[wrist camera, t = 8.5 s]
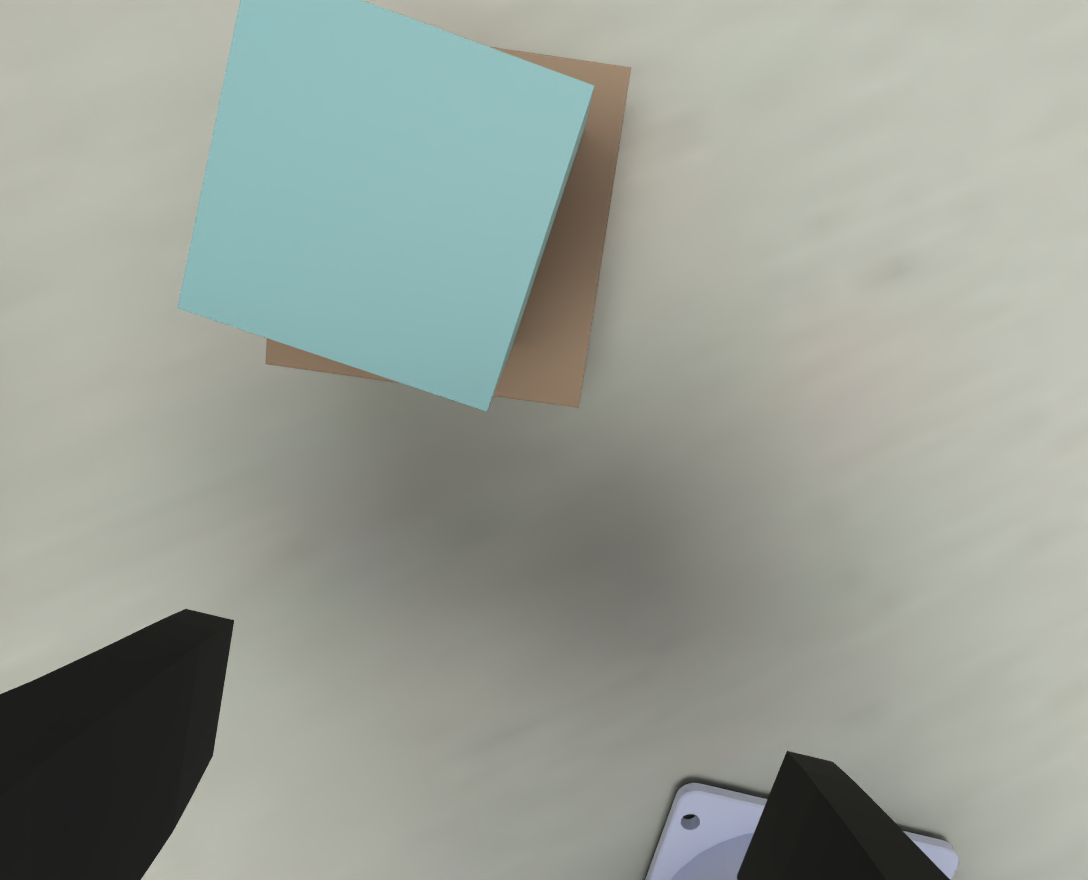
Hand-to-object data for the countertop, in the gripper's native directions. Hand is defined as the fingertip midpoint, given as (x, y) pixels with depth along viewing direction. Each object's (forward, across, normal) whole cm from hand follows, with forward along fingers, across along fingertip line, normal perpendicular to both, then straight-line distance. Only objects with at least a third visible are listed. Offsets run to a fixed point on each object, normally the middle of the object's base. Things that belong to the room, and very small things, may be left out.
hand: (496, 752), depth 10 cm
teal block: (+6, +3, -6) cm, 9 cm away
